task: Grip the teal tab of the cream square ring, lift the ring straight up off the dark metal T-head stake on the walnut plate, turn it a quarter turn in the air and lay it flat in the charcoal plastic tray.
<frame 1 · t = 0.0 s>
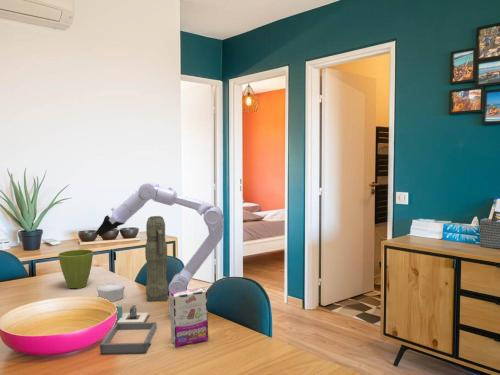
hand: (101, 232, 155), 32 cm above the table, tool tilted 50°, fingers open, 7 cm apart
cream ring: (128, 313, 153), on the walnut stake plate, point 4 cm above the table
ramekin: (111, 299, 181), on the table
metal T-head stake: (133, 313, 153), on the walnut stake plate, point 3 cm above the table
charcoal tray: (130, 341, 137), on the table
candy bar box: (189, 342, 137), on the table
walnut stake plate: (127, 323, 152), on the table
flower pot: (77, 287, 198), on the table
stone pillar statue: (157, 300, 179), on the table
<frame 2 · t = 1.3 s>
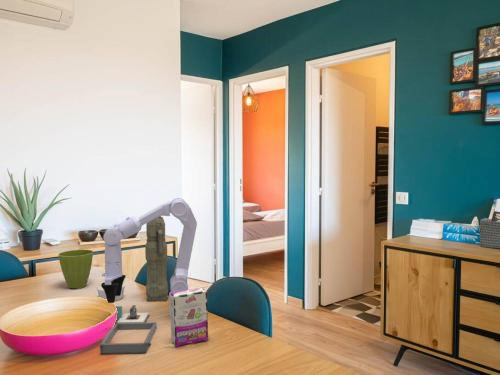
hand: (114, 299, 153), 9 cm above the table, tool pointing down, fingers open, 7 cm apart
nothing on the table moved.
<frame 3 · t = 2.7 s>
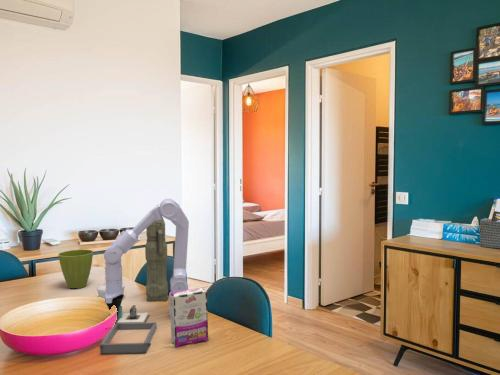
hand: (114, 316, 153), 2 cm above the table, tool pointing down, fingers closed on cream ring
cream ring: (128, 313, 153), on the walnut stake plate, point 4 cm above the table, touching gripper
everything else where it was.
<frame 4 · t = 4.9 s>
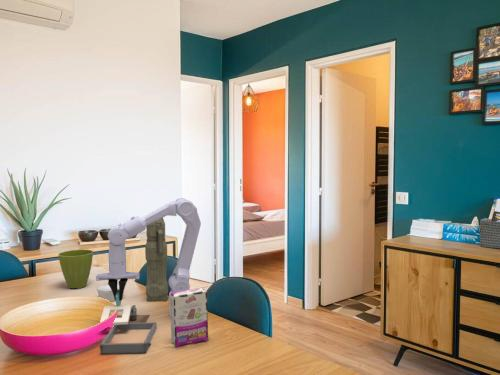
hand: (118, 299, 150), 9 cm above the table, tool pointing down, fingers closed on cream ring
cream ring: (116, 306, 146), point 8 cm above the table, tilted 19°, touching gripper
everything else where it was.
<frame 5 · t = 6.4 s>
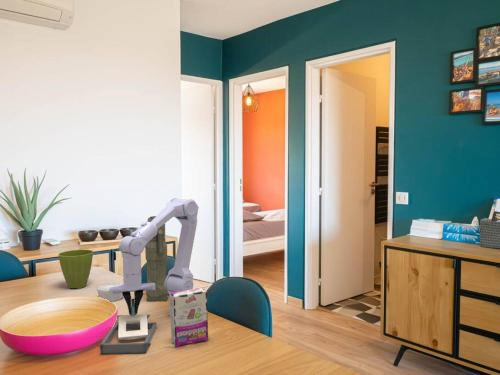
hand: (133, 313, 141), 8 cm above the table, tool pointing down, fingers closed on cream ring
cream ring: (133, 317, 139), point 7 cm above the table, tilted 26°, touching gripper
everything else where it was.
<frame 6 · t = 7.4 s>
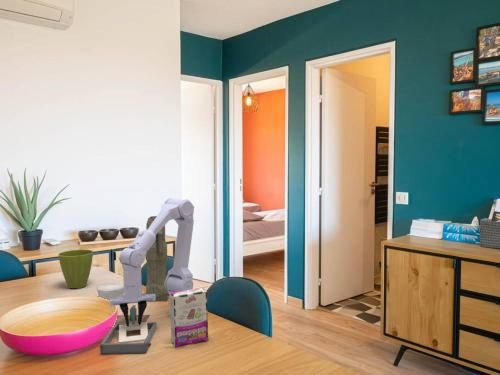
hand: (133, 324, 142), 4 cm above the table, tool pointing down, fingers open, 3 cm apart
cream ring: (133, 324, 140), in the charcoal tray, tilted 14°
everything else where it was.
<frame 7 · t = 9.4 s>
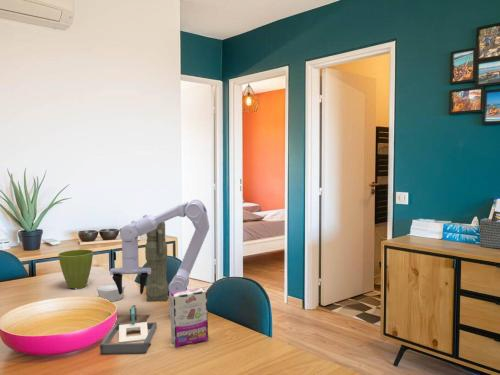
hand: (131, 293, 157), 9 cm above the table, tool pointing down, fingers open, 7 cm apart
nothing on the table moved.
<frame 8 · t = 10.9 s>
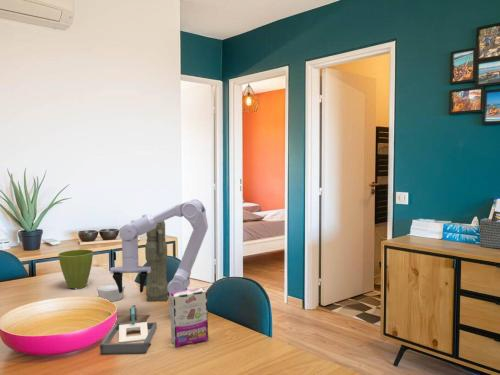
hand: (131, 292, 159), 9 cm above the table, tool pointing down, fingers open, 7 cm apart
nothing on the table moved.
at the end: cream ring inside the target area on the charcoal tray (3.3 cm from its centre), point 4.5 cm above the charcoal tray's base; cream ring tilted 14°; the gripper is holding nothing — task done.
